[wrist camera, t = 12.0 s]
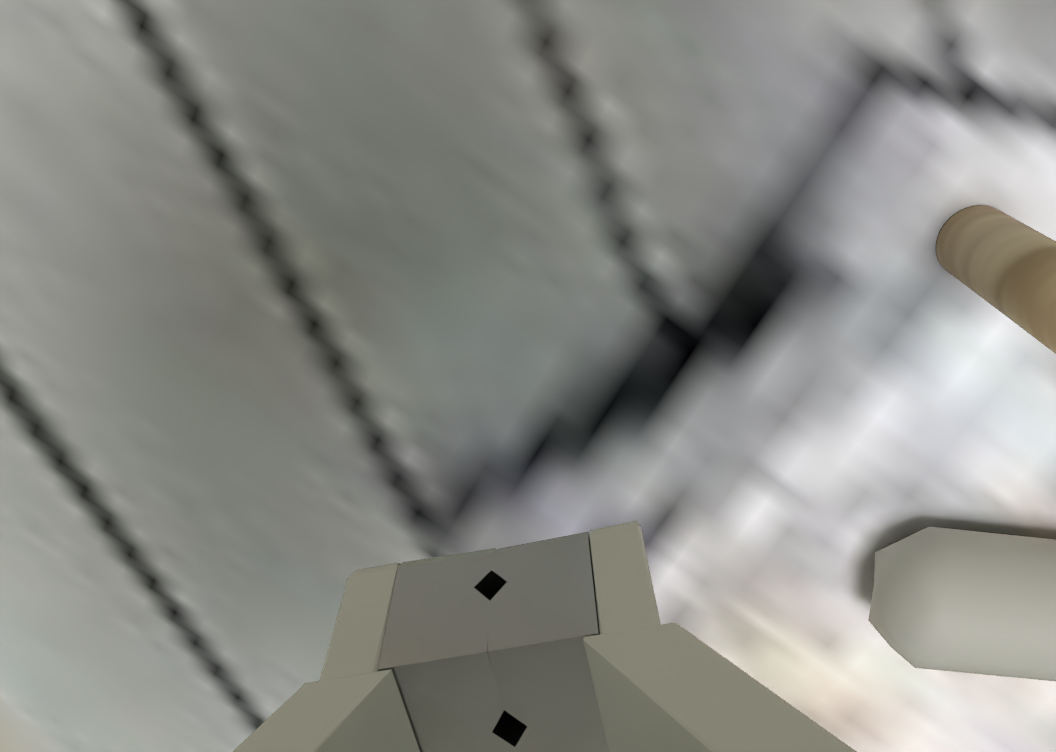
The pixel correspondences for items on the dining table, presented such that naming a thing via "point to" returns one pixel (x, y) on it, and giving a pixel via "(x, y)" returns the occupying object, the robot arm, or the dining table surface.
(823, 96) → the dining table surface
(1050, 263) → the post
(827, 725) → the dining table surface
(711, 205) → the dining table surface
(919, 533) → the tube
